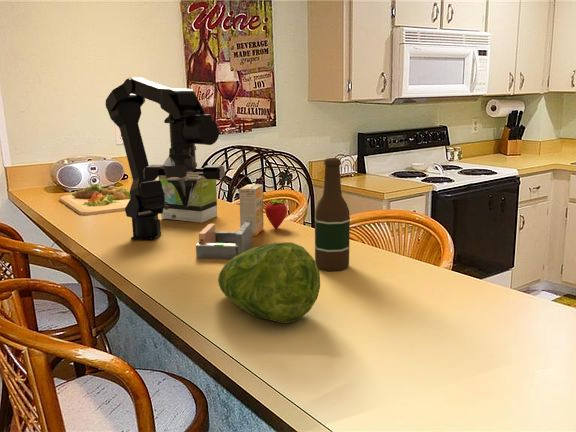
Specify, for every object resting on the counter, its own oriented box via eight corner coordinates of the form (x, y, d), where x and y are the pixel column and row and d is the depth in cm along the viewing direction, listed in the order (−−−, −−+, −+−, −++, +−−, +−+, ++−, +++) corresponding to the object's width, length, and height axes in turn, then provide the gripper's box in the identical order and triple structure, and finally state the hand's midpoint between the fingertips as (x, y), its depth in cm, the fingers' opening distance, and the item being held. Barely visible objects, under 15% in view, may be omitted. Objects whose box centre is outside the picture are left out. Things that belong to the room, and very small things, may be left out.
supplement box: (257, 236, 148) (255, 188, 145) (240, 236, 149) (238, 188, 146) (264, 229, 156) (263, 183, 153) (248, 228, 157) (246, 183, 154)
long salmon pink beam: (196, 256, 129) (195, 236, 127) (210, 242, 141) (209, 223, 140) (203, 256, 128) (202, 236, 127) (215, 242, 141) (215, 223, 139)
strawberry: (279, 224, 161) (278, 191, 159) (291, 229, 155) (291, 195, 153) (261, 227, 159) (260, 193, 156) (272, 232, 152) (272, 197, 150)
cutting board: (152, 208, 189) (151, 187, 187) (82, 217, 176) (80, 195, 175) (121, 194, 217) (119, 175, 216) (58, 201, 205) (56, 181, 203)
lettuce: (254, 307, 110) (252, 241, 111) (334, 319, 92) (331, 240, 93) (192, 315, 102) (190, 244, 102) (266, 331, 83) (264, 244, 84)
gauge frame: (196, 258, 129) (195, 233, 128) (211, 242, 143) (210, 220, 141) (242, 259, 128) (241, 234, 127) (252, 243, 142) (252, 220, 140)
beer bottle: (326, 274, 117) (326, 161, 111) (308, 264, 123) (307, 158, 118) (356, 268, 120) (358, 159, 115) (337, 259, 127) (338, 155, 122)
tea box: (160, 219, 170) (156, 172, 166) (178, 213, 179) (175, 168, 176) (202, 223, 164) (199, 174, 161) (218, 216, 173) (216, 170, 170)
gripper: (132, 146, 124) (137, 213, 127) (212, 146, 122) (215, 214, 125) (149, 141, 135) (153, 204, 138) (223, 141, 133) (226, 204, 136)
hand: (186, 206), depth 134 cm, fingers closed
